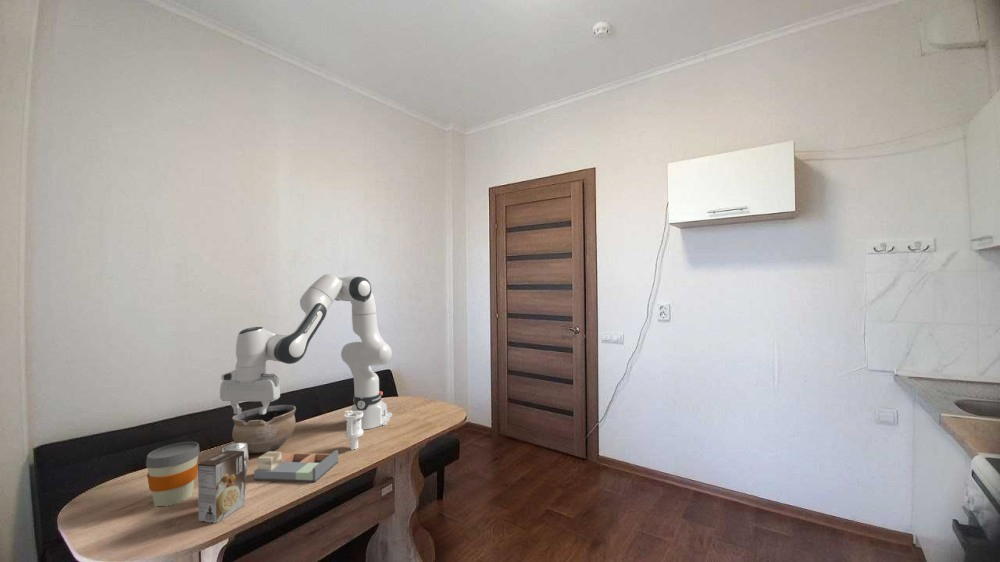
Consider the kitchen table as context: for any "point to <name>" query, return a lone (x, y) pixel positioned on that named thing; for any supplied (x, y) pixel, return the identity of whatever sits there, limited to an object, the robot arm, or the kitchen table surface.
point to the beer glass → (240, 448)
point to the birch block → (269, 460)
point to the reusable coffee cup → (172, 472)
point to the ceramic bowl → (264, 427)
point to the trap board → (299, 467)
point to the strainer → (353, 427)
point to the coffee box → (221, 485)
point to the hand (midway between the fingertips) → (250, 413)
